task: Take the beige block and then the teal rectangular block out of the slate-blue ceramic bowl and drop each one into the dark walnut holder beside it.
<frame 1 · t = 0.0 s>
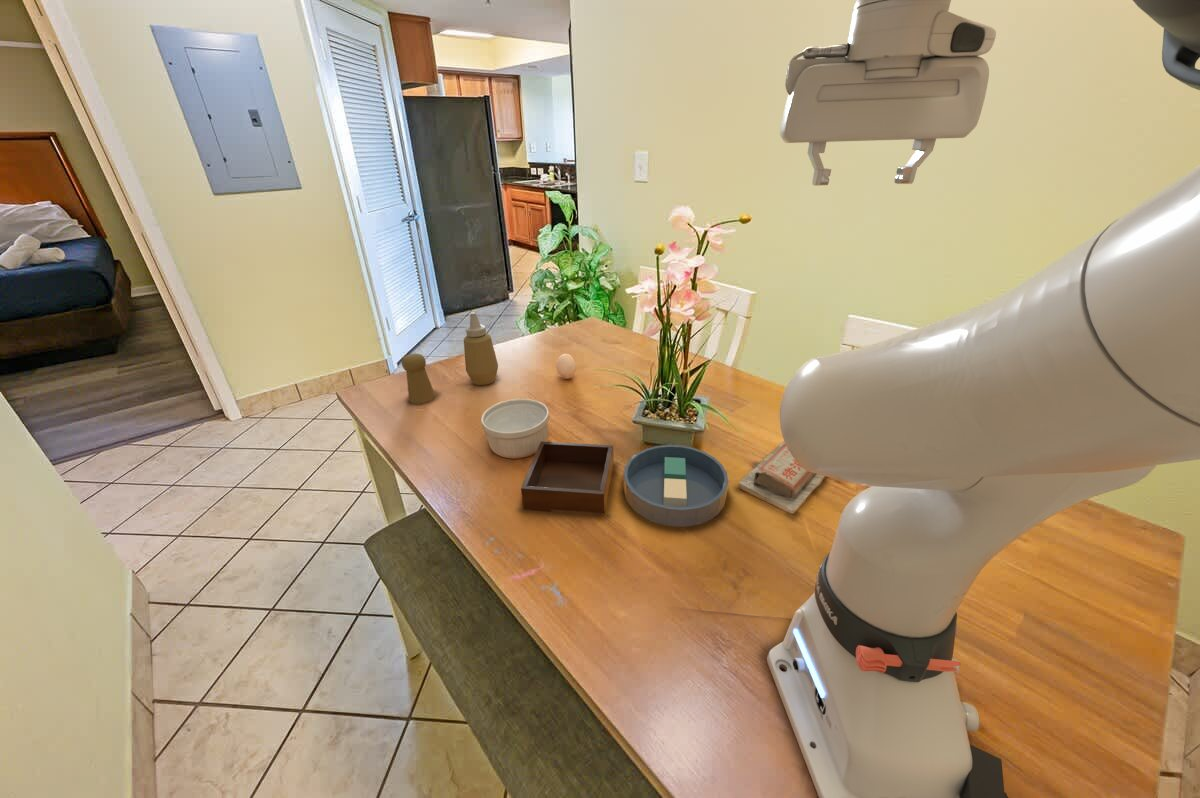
hand: (861, 184, 57), 48 cm above the table, tool pointing down, fingers open, 8 cm apart
ramekin: (519, 444, 96), on the table
bowl: (674, 492, 81), on the table
teal rectangular block: (674, 479, 84), resting on bowl
squeeze bottle: (484, 381, 121), on the table
egg: (566, 378, 121), on the table
beige block: (674, 502, 79), resting on bowl
holder: (571, 486, 84), on the table
packaged product: (787, 478, 84), on the table
pepper mill: (422, 398, 114), on the table
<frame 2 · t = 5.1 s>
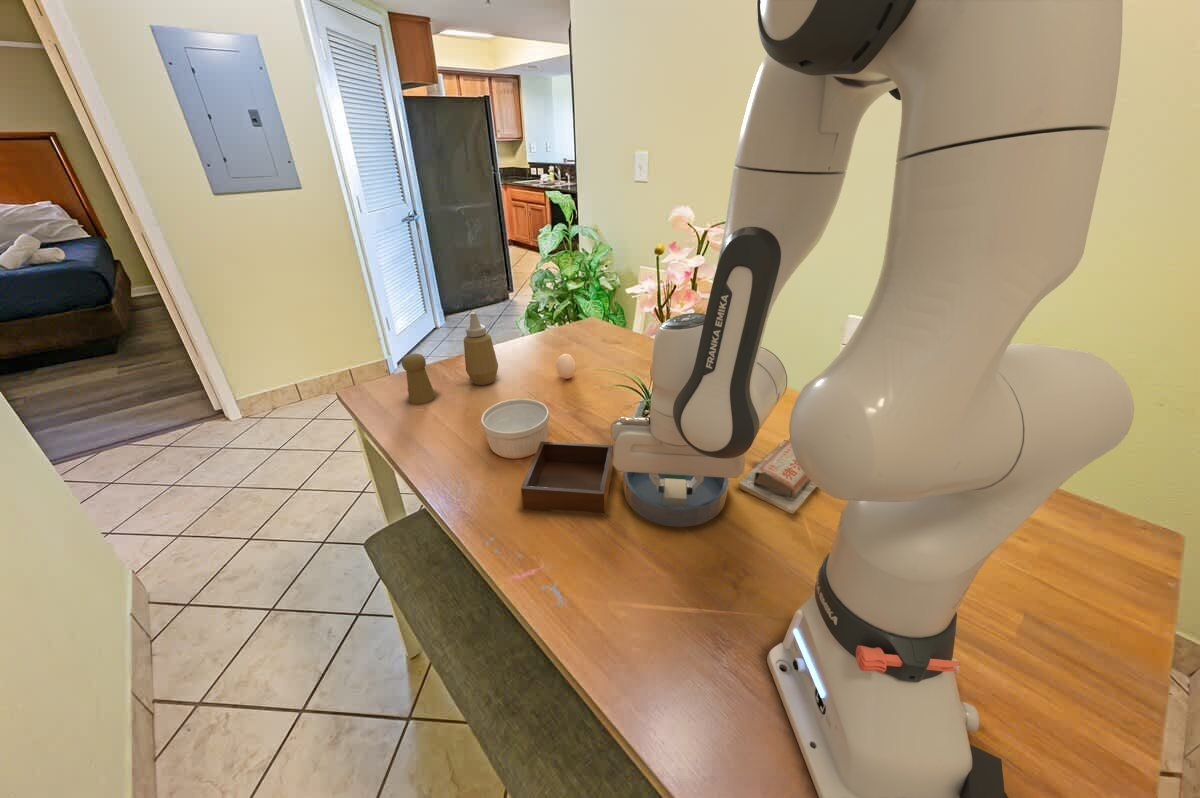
hand: (675, 491, 78), 3 cm above the table, tool pointing down, fingers closed on beige block, 3 cm apart
beige block: (674, 502, 79), resting on bowl, touching gripper
everything else where it was.
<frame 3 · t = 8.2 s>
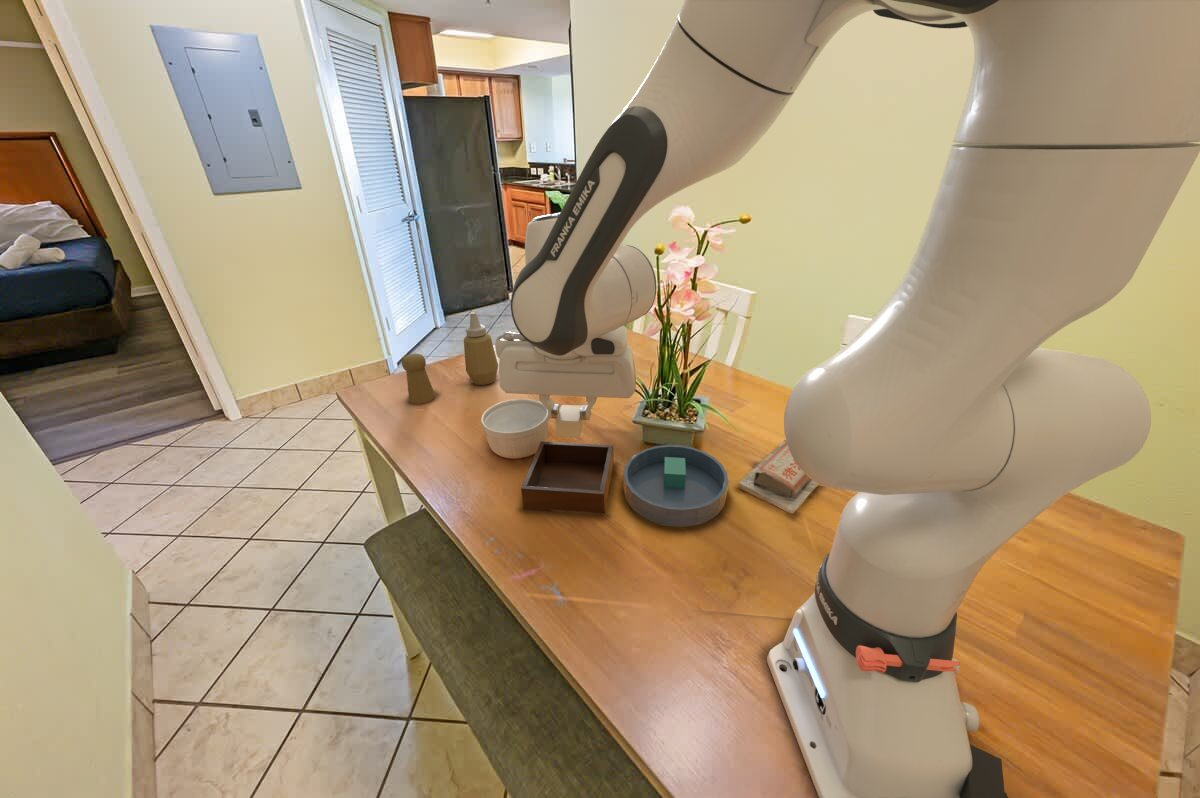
hand: (570, 417, 73), 16 cm above the table, tool pointing down, fingers closed on beige block, 3 cm apart
beige block: (570, 429, 74), point 14 cm above the table, touching gripper
everything else where it was.
when the fingers open (2 cm above the table, at t = 11.6 s): beige block stays where it is, resting on holder.
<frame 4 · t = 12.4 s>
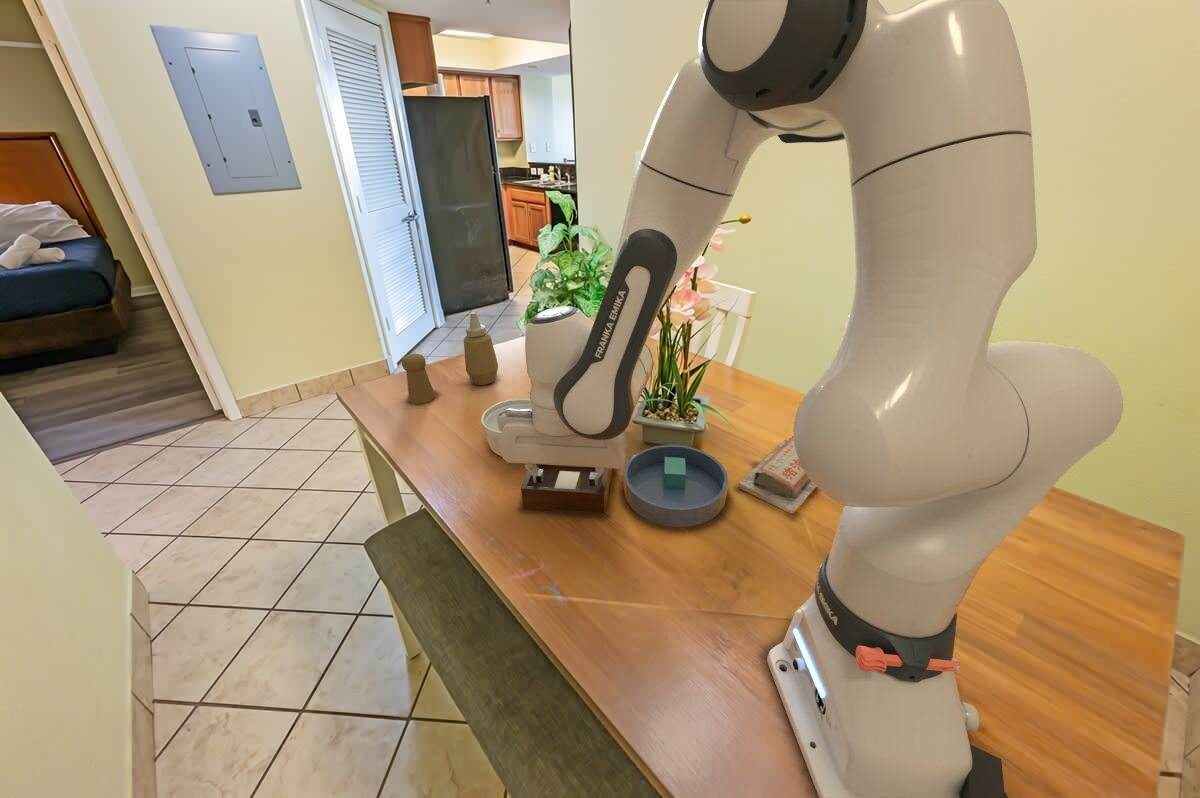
hand: (566, 482, 79), 3 cm above the table, tool pointing down, fingers open, 8 cm apart
beige block: (568, 493, 81), resting on holder
everything else where it was.
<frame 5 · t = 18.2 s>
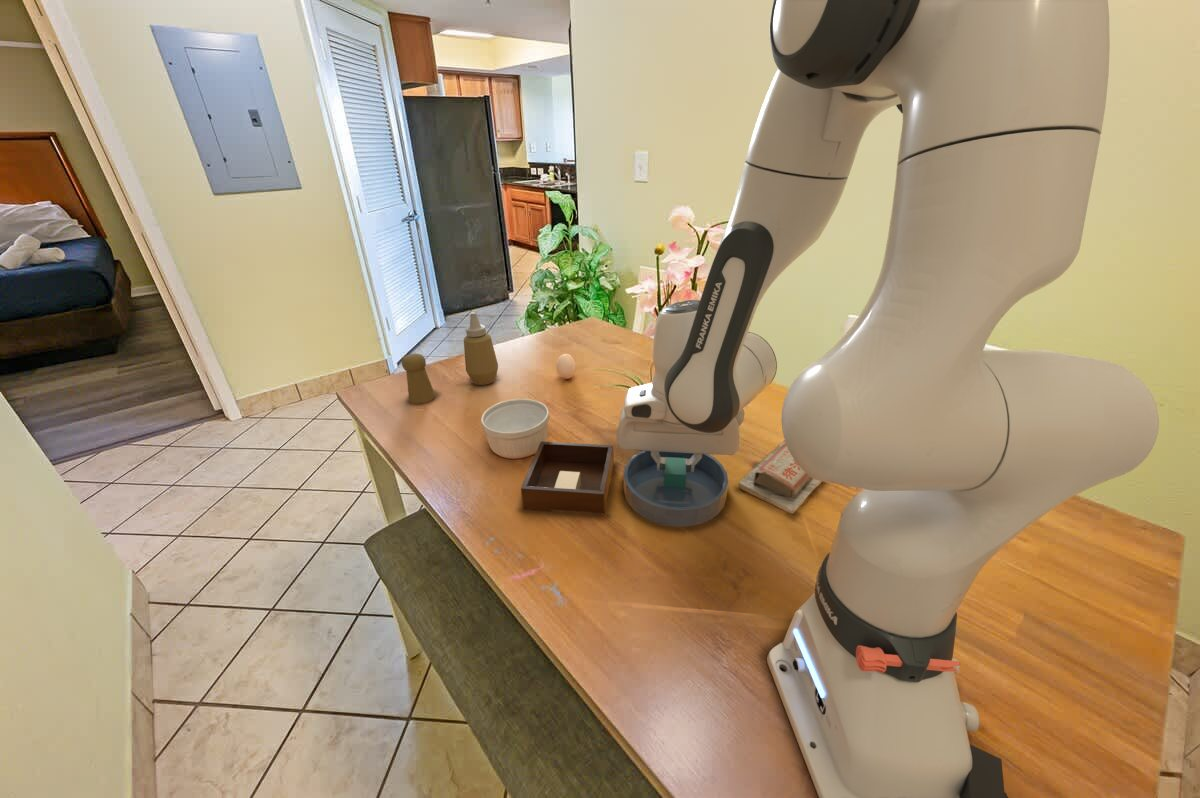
hand: (674, 469, 83), 3 cm above the table, tool pointing down, fingers closed on teal rectangular block, 3 cm apart
teal rectangular block: (674, 479, 84), point 1 cm above the table, touching bowl, gripper
everything else where it was.
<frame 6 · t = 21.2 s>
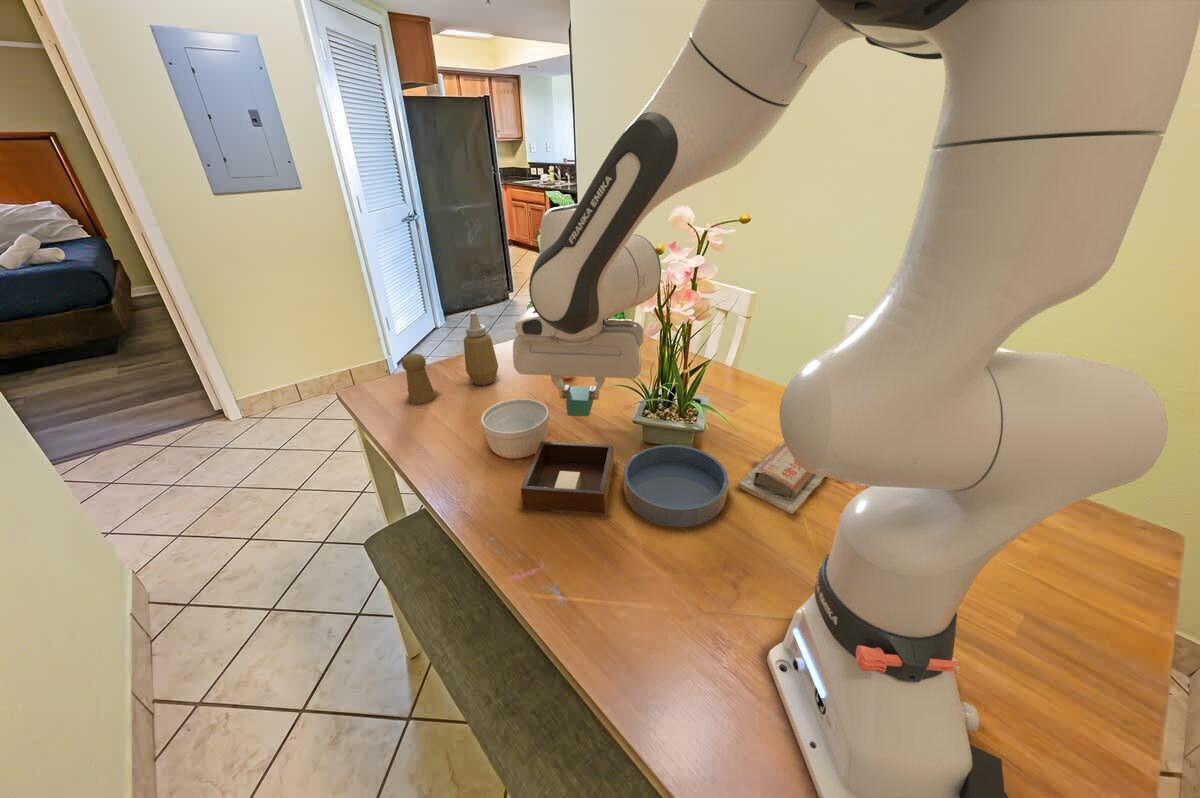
hand: (579, 397, 79), 16 cm above the table, tool pointing down, fingers closed on teal rectangular block, 3 cm apart
teal rectangular block: (580, 408, 80), point 14 cm above the table, touching gripper
everything else where it was.
when the fingers open (2 cm above the table, at t = 24.7 s): teal rectangular block stays where it is, resting on holder.
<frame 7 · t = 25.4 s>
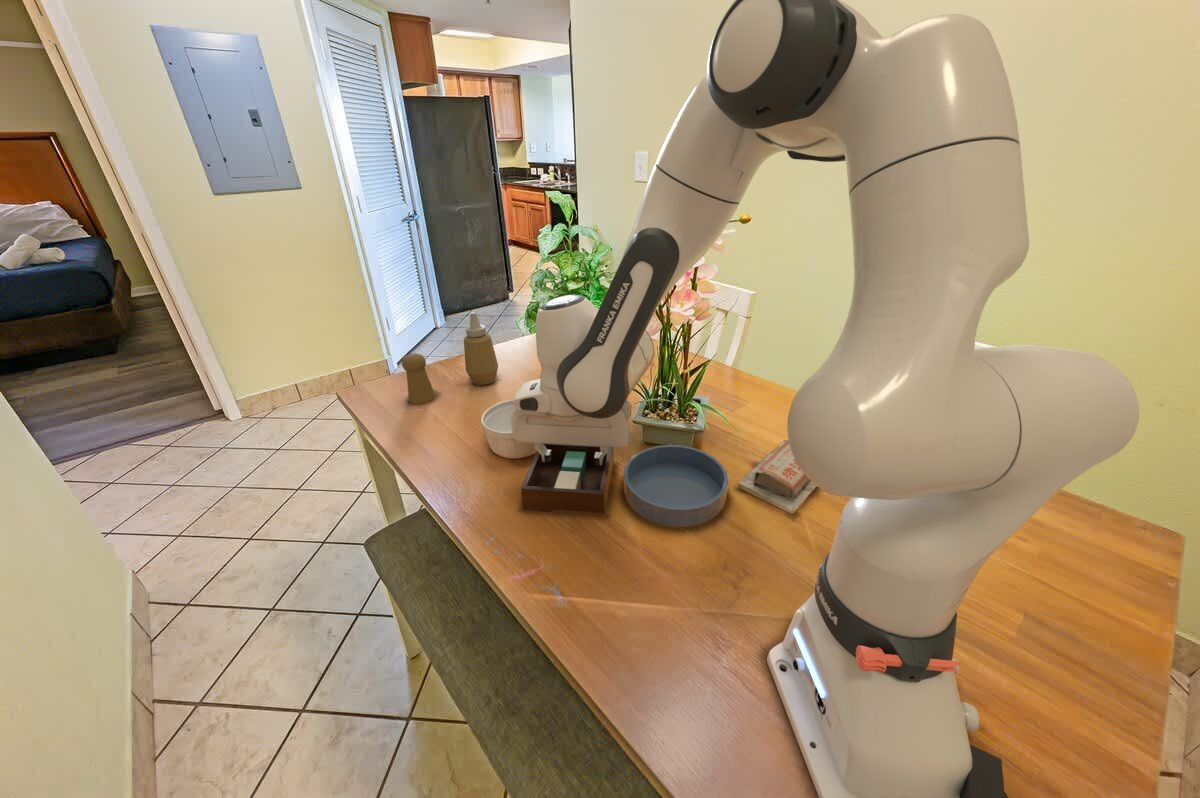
hand: (573, 461, 85), 3 cm above the table, tool pointing down, fingers open, 8 cm apart
teal rectangular block: (574, 472, 86), resting on holder
everything else where it was.
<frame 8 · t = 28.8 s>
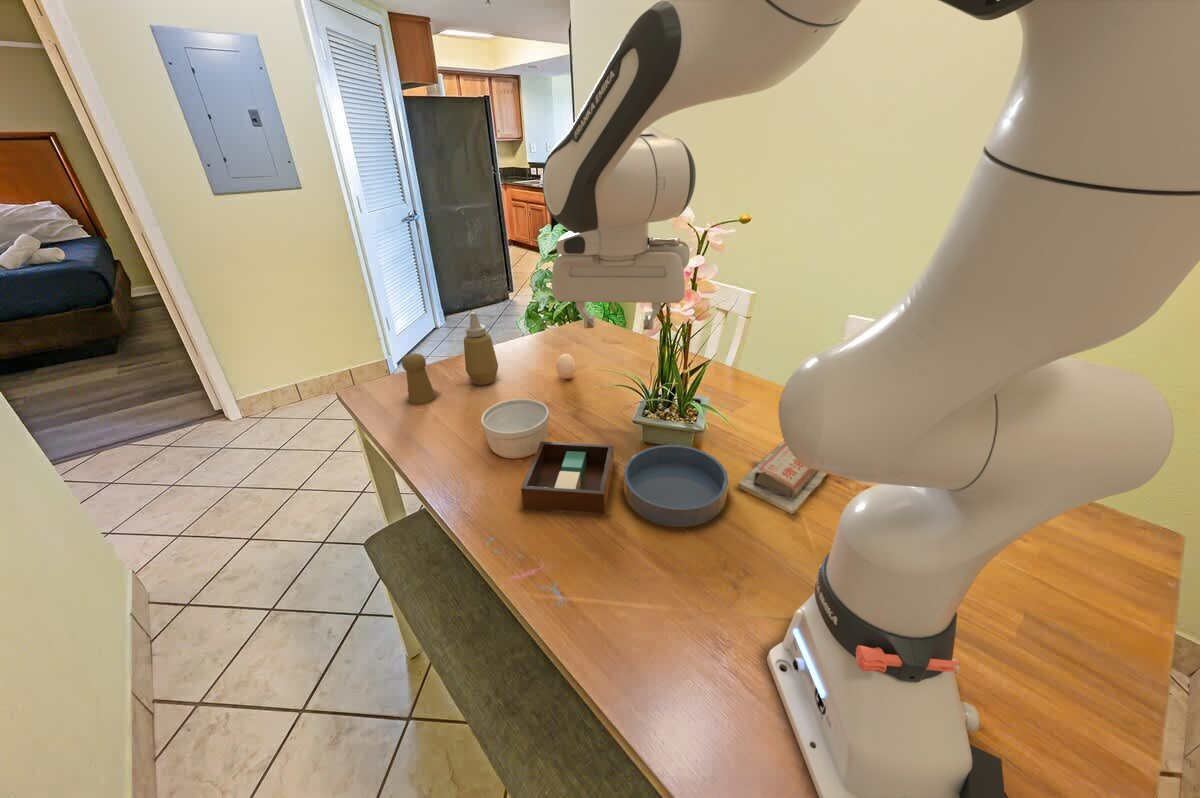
hand: (618, 327, 76), 27 cm above the table, tool pointing down, fingers open, 8 cm apart
nothing on the table moved.
at the end: beige block inside the target area in the holder (2.7 cm from its centre), point 0.5 cm above the holder's base; teal rectangular block inside the target area in the holder (3.2 cm from its centre), point 0.5 cm above the holder's base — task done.
